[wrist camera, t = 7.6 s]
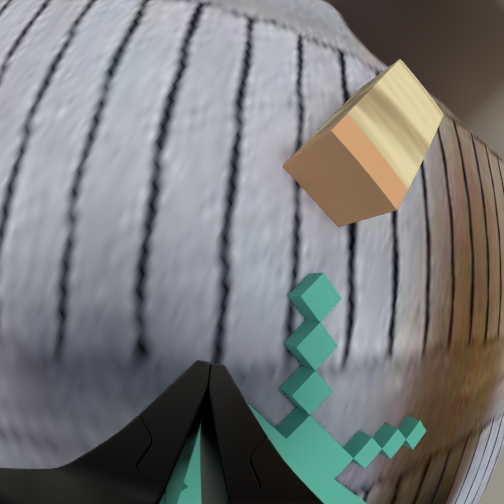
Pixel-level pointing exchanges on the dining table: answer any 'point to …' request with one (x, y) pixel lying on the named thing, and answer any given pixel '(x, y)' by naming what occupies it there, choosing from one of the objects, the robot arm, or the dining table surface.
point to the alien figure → (307, 400)
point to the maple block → (369, 148)
